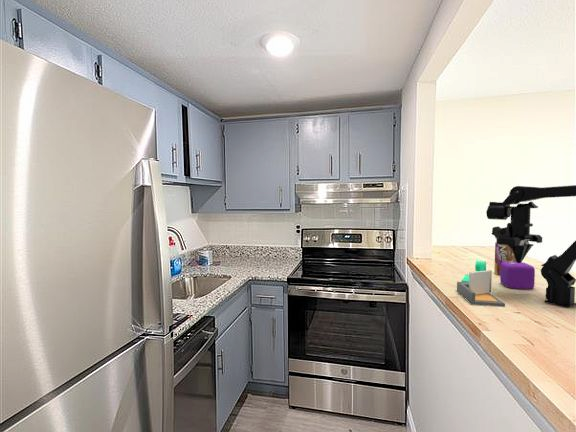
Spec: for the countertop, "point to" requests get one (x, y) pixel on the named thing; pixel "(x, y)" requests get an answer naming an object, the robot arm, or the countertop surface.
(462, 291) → the camera case
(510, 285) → the toy camera
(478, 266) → the camera mount
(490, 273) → the door
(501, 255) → the candy box
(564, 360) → the countertop surface
